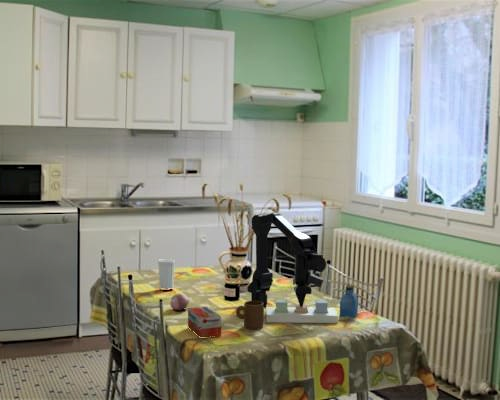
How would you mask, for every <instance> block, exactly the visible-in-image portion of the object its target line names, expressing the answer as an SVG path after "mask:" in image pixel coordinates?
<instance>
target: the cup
mask: <svg viewBox="0 0 500 400" xmlns="http://www.w3.org/2000/svg"><path fill="white" fill-rule="evenodd" d="M175 263H176V260H175V258H160V259H158V260H157V265H158V277H159V288H160V287H161V288H165V289H168V288H173V289H174V282H175V281H174V280H175Z"/></svg>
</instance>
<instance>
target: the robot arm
mask: <svg viewBox="0 0 500 400" xmlns="http://www.w3.org/2000/svg"><path fill="white" fill-rule="evenodd" d="M250 221H251V222H250V223H251V230H252V231H253V233H254V235H255V270H254V272H253V274H252V277H251V278H252V279H251V282H250V283H249V284H248V285H247V287H246V288H247V292H248V293H251V295H250V296H251V298H250V299H251V300H250V301H260V302H263V304H264V308H266V307H267V306H268V294H267V292H270V289H271V287H272V285H273V282H274V278H273V276H274V275H273V272H271V271H270V270H269V266H268V262H269V260H268V259H269V257H268V252H269V250H268V248H269V247H268V236H269V233H270V232H271V229H272V225H274V227H276V228H277V229H278V230H279V231H280V232H281V234H283V235H284V236H285V237H286V238H287V239H288V241H289V245H290V246H291V247H292V249H293V250H294V251H293V252H292V253H291V256H292V257H294V258H295V259H294V277H293V278H292V285H293V286H294V285H295V286H294V287H293V290H294V293H295V296H296V298H297V301H298V303H299V304H298V305H300V306H303V305H305V300H306V299H305V298H306V295H312V287H311V286H310V285H314V286H317V287H318V288H321V287H322V285H323V283H324V278H323V277H322V276H321V274H320V273H322V272H324V271H325V269H326V267H327V261H326V259H325V258H324V254H321V253H320V254H319V253H318V251H317V249H316V247H315V245H314V243H313V239H312V238H311V237H310V236H309V235H308V234H306V233H304V232H303V233H302V232H300V231H299V230H297V228H295V227H294V226H293V225H292V224H291V223H290V222H289V221H288V220H287V219H286V218H285V217H284V216H283V215H282V214H281V212H270V213H261V214H254V215H253V216H252V217H251V220H250ZM311 271H314V273H311Z"/></svg>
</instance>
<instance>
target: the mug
mask: <svg viewBox="0 0 500 400" xmlns="http://www.w3.org/2000/svg"><path fill="white" fill-rule="evenodd" d="M264 309H265V307H264V304H263V302H260V301H251V300H246V301H245V302H244V304H243V305H239V306H238V307H237V308H236V310H235V315H236V317H237V318H238V319H241V320H243V326H244V328H245V329H247V330H260V329H263V327H264V321H265V320H264V319H265V317H264V315H265V314H264V313H265V310H264ZM241 311H243V313H241Z"/></svg>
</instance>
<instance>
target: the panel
mask: <svg viewBox="0 0 500 400" xmlns="http://www.w3.org/2000/svg"><path fill="white" fill-rule="evenodd" d="M295 311H296V306H287V312H276V306H266V307H265V312H266V313H265V314H266V323H299V324H300V323H303V324H304V323H306V324H307V323H309V324H338V323H339V315H338V312H337V310H336V308H335V307H327V313H316V311H315V306H314V307H311V306H310V307H308V306H307V313H295Z"/></svg>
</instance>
